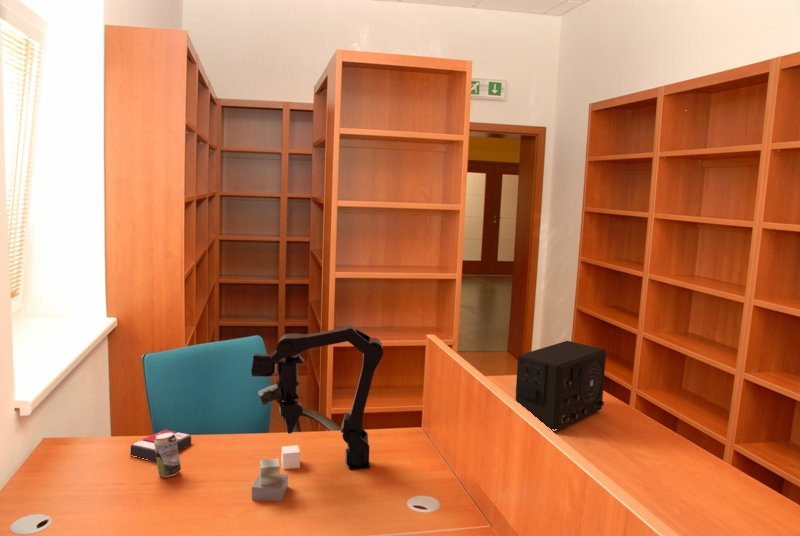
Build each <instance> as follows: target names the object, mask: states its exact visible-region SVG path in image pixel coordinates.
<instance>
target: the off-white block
mask: <svg viewBox="0 0 800 536" xmlns="http://www.w3.org/2000/svg"><path fill="white" fill-rule="evenodd" d="M280 457H281V467H282V470H292V469H299V468H300V469H301V451H300V447H299V445H285V446H281V456H280ZM291 468H292V469H291Z"/></svg>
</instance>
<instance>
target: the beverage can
mask: <svg viewBox="0 0 800 536" xmlns="http://www.w3.org/2000/svg"><path fill="white" fill-rule="evenodd" d="M154 445H155V452H156V459H157V462H156V463H157V470H158V475H159V476H161V477H162V478H170V477H173V476H175V475H177V474H179V472H180V471H181V469H182V467H181V461H180V460H181V459H180V454H179V451H178V446H177V439H176V436H175V435H174V433H172V432H169V433H163V434H160V435H158V436H156V439H155V441H154Z"/></svg>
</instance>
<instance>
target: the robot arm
mask: <svg viewBox="0 0 800 536" xmlns="http://www.w3.org/2000/svg"><path fill="white" fill-rule="evenodd" d="M346 342H348V343H349V344H351V345H352V346H353V347H354V348H355V349H357V350H358V351H359V352H361V353H362V366H361V369H360V375H359V378H358V382H357V386H356V390H355V394H354V397H353V402H352V405H351V408H350V411H349V412H348V413H347V412H344V415H343V419H342V422H341V425H340V433H341V434H342V440H343V442H345V443H346V444H347V448H345V454H344V455H345V457H344V458H345V464H346V466H348V469H349V470H359V469H360V470H361V469H369V468H371V464H370V444H369V433H368V432H367V431H366V430H365V429H364V428H363V423H364V422H363V419H364V413H365V408H366V405H367V401H368V397H369V393H370V389H371V386H372V382H373V377H374V374H375V371H376V369H377V368H378V366H379V365H380V362H381V361H382V358H383V356H384V347H383V343H382V341H381V340H380V339H379V338H377V337H371V336H369V335H368V334H366V333H365V332H363V331H361V330H359V329H357V328H356V327H354V326H352V325H347V326H345V327H344V326H343V327H340V328H334V329H329V330H323V331H319V332H315V333H314V332H313V333H307V334H306V333H305V334H304V333H285V334H283V335H282V336H281V337H280V339H279V341H278V343H277V345H276V349H275V350H273V351H272V352H273V353H272V354H260V353H255V354H253V358H252V364H251V377H252V378H273V376H274V375H276V374H277V379H276V381H275V384H272V385H269V386H266V387H264V388H262V389H259V390H258V392H257V393H258V396H259V398H260V399H259V400H260V401H261V403H262V406H265V405H268V403H270V402H273V401H276V402H277V403H278V404H279V407H278V408H279V415H280V417H282V418H283V422H285V426H286V432H287V434H290V435H291V434H292V433H293V431H294V429H295V427H296V425H297V422H298V421H299V419H300V417H301V416H302V415H303V406H302V403H301V402H300V401H298V400H299V397H300V395H299V393H298V386H299V385H300V384H299V380H298V379H299V377H298V375H299V374H298V370H299V369H298V367H299V366H298V365H301V364H302V365H303V364H304V361H305V358H304V357H303V356H301V353H304V352H306V351H308V350H312V349H316V348H320V347H325V346H332V345H335V344H341V343H342V344H343V343H346ZM277 369H278V370H277Z"/></svg>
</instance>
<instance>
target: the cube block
mask: <svg viewBox="0 0 800 536" xmlns="http://www.w3.org/2000/svg"><path fill="white" fill-rule="evenodd" d="M259 473H260V483H261V486H262V485H272V484H280V474H281V468H280V460H279V458H267V459H259Z"/></svg>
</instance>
